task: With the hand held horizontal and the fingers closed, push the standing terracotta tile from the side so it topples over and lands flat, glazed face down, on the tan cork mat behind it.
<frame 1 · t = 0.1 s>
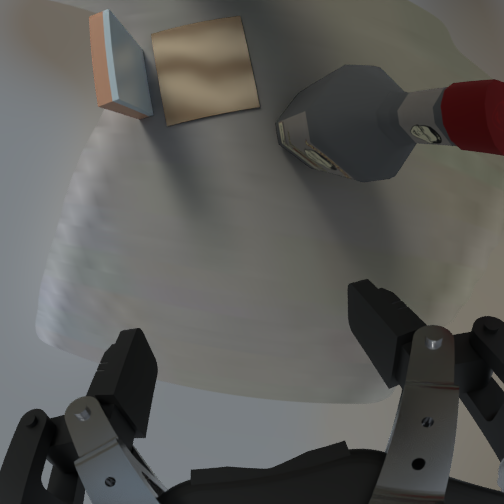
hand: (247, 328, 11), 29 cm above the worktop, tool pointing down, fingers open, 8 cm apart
tile: (140, 83, 31), on the worktop
liquor: (312, 129, 36), on the worktop
mat: (203, 66, 31), on the worktop
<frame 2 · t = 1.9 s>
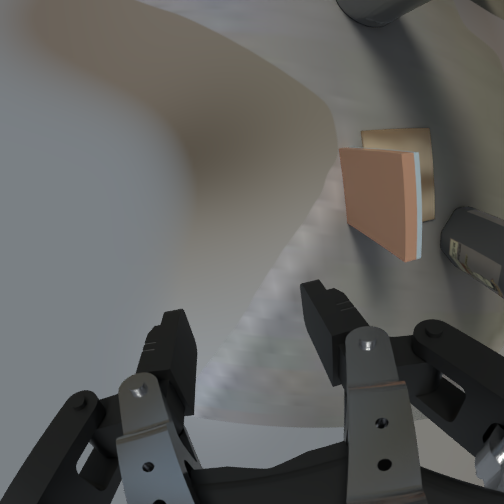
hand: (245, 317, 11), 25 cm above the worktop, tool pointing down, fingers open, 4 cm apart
tile: (350, 185, 36), on the worktop
liquor: (457, 234, 41), on the worktop
mat: (402, 177, 36), on the worktop
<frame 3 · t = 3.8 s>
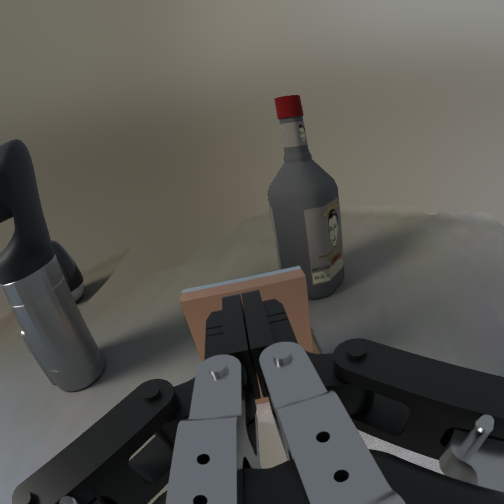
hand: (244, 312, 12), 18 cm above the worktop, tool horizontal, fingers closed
tile: (267, 395, 29), on the worktop
liquor: (313, 285, 48), on the worktop
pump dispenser: (71, 300, 59), on the worktop
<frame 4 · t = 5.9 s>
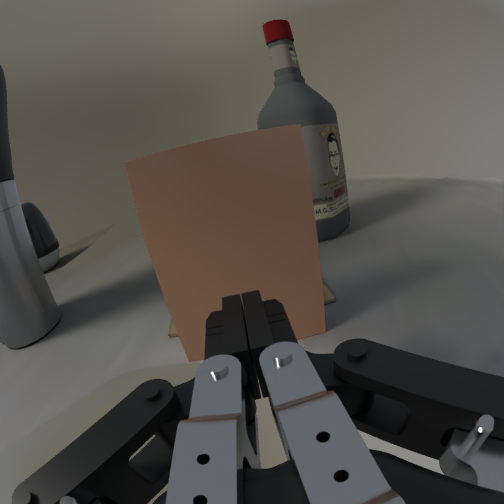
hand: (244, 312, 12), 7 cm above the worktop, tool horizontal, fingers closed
tile: (255, 340, 21), on the worktop
liquor: (314, 231, 41), on the worktop
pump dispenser: (45, 270, 51), on the worktop
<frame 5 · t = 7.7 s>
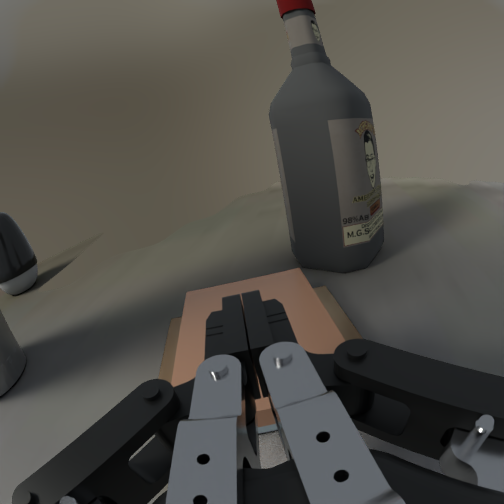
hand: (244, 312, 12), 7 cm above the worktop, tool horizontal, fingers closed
tile: (271, 420, 12), point 1 cm above the worktop, tilted 90°, touching mat
liquor: (339, 255, 32), on the worktop
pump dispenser: (23, 289, 42), on the worktop
mat: (257, 349, 20), on the worktop
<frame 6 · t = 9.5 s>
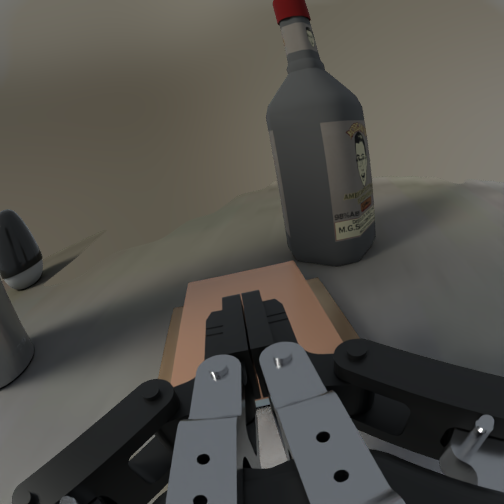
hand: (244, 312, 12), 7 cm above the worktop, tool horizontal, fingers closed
tile: (263, 394, 14), point 1 cm above the worktop, tilted 90°, touching mat
liquor: (333, 250, 34), on the worktop
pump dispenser: (28, 284, 44), on the worktop
mat: (253, 334, 22), on the worktop
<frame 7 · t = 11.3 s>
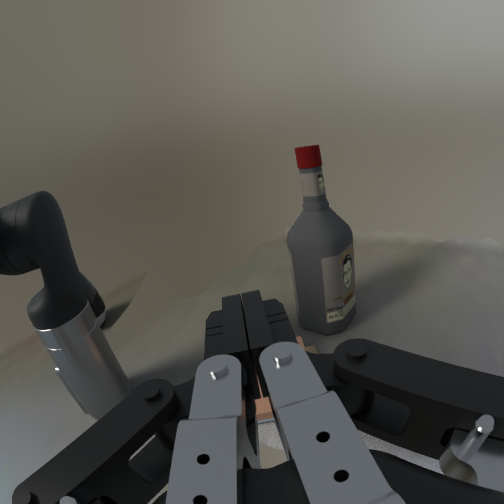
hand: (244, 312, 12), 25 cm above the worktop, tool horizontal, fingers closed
tile: (284, 413, 32), point 1 cm above the worktop, tilted 90°, touching mat
liquor: (327, 320, 51), on the worktop
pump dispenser: (93, 326, 63), on the worktop
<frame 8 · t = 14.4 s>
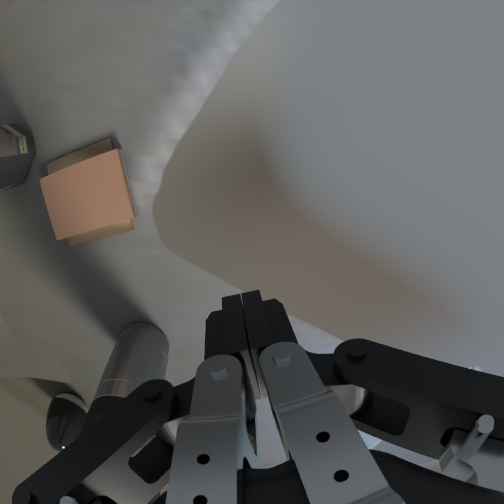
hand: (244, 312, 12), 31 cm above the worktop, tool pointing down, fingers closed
tile: (127, 182, 37), point 1 cm above the worktop, tilted 90°, touching mat
liquor: (16, 155, 34), on the worktop
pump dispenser: (74, 401, 52), on the worktop
mat: (87, 195, 38), on the worktop
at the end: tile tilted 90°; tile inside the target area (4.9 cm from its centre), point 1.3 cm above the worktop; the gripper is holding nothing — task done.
